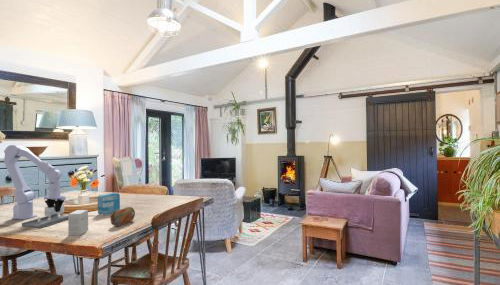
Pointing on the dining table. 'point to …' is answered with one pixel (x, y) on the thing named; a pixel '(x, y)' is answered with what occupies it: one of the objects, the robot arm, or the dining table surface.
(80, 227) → the small box
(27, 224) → the pin tray
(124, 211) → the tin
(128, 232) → the dining table surface
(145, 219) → the dining table surface
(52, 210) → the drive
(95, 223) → the dining table surface
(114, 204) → the blue box
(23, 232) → the dining table surface
